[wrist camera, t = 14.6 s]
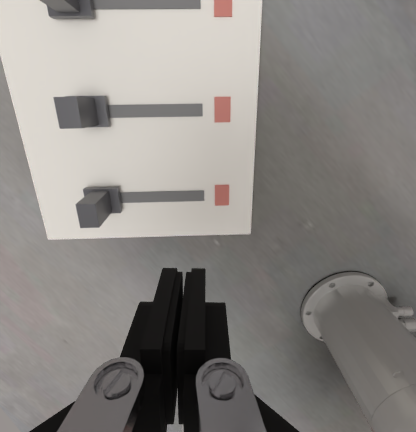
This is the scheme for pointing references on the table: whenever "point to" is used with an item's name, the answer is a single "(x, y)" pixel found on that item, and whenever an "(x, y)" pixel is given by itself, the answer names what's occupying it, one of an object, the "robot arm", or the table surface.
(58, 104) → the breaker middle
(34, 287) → the table surface
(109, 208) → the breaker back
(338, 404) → the table surface
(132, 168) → the breaker panel
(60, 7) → the breaker
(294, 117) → the table surface
